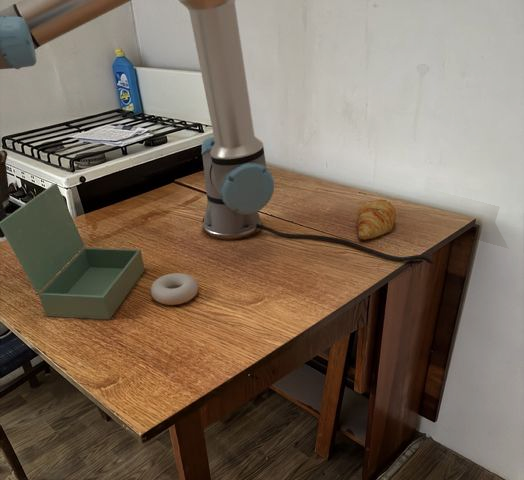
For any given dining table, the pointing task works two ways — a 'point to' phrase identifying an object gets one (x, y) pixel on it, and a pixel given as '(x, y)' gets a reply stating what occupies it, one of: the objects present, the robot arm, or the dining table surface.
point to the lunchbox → (93, 283)
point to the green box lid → (43, 236)
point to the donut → (174, 288)
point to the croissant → (375, 219)
